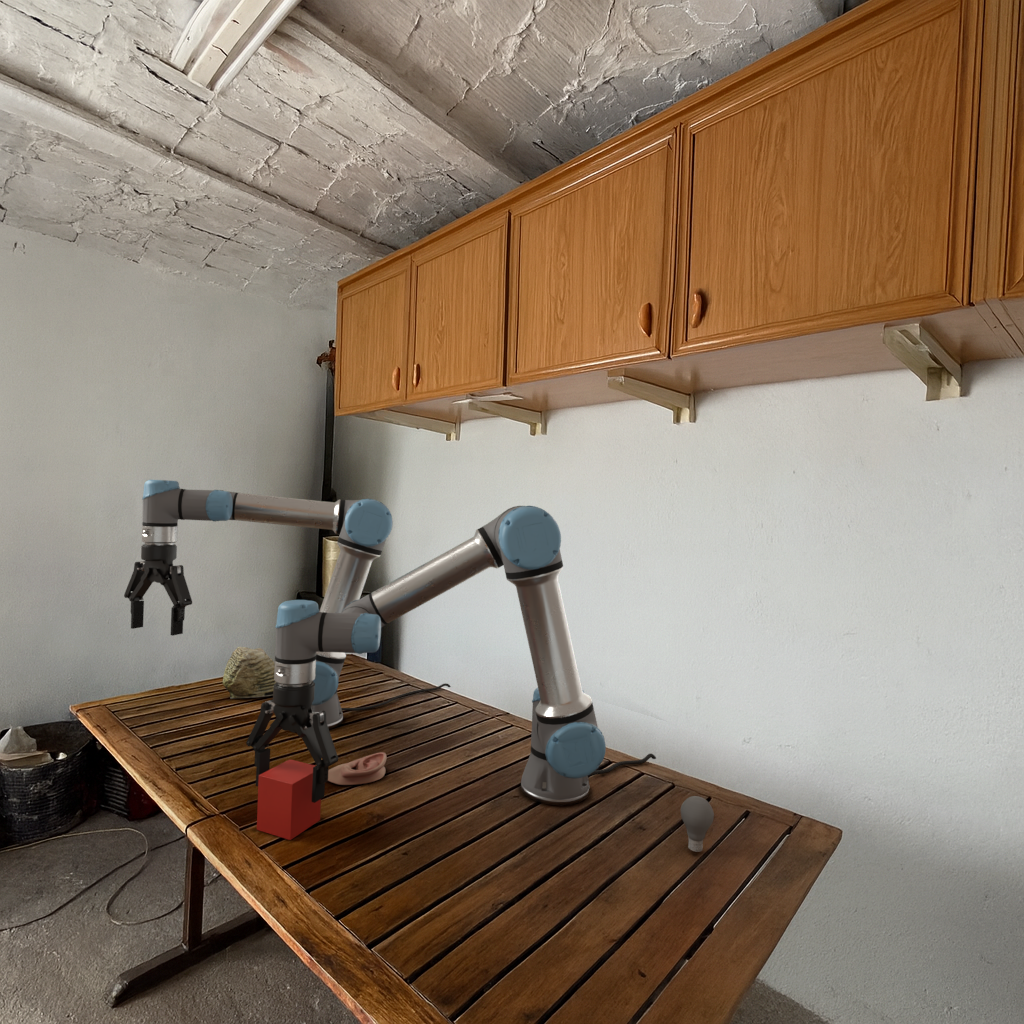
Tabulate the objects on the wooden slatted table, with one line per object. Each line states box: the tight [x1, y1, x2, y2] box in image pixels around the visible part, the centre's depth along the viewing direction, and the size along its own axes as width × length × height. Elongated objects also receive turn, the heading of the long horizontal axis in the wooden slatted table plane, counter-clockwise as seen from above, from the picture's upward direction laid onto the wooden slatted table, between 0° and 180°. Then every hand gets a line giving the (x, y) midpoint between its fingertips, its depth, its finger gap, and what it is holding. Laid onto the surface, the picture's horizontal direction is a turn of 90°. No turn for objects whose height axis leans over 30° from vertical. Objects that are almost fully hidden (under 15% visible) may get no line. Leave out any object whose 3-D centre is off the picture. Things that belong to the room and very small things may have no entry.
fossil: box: [222, 646, 276, 699], centre depth 198 cm, size 9×18×15 cm, turn 132°
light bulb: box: [680, 795, 715, 853], centre depth 119 cm, size 6×6×10 cm
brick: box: [256, 759, 322, 841], centre depth 122 cm, size 8×8×10 cm
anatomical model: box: [327, 751, 387, 786], centre depth 144 cm, size 13×4×12 cm
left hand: (156, 631), depth 153 cm, fingers open, 13 cm apart
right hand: (289, 791), depth 122 cm, fingers open, 13 cm apart
